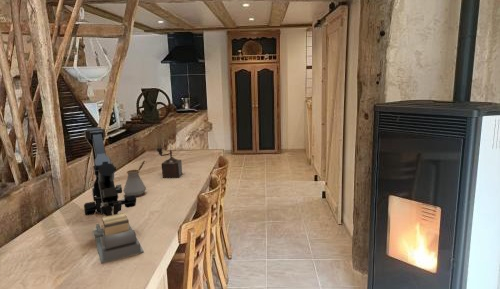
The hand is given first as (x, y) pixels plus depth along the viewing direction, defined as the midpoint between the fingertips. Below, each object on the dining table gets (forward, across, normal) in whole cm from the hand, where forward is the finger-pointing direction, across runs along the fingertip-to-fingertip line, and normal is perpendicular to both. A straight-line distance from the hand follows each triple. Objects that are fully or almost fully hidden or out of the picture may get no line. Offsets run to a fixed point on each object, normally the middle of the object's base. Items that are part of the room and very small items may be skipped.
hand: (114, 224), depth 134 cm
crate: (+7, 0, +2) cm, 7 cm away
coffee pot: (-36, +20, +45) cm, 61 cm away
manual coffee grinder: (-51, +43, +60) cm, 90 cm away
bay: (+5, 0, +4) cm, 7 cm away
